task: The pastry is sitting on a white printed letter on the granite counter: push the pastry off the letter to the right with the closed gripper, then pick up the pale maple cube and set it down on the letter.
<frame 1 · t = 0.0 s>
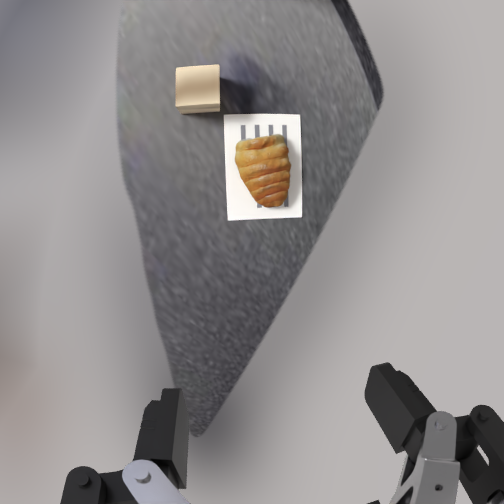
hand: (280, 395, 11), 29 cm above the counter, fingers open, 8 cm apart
letter: (264, 165, 36), on the counter
maple cube: (200, 95, 33), on the counter
pastry: (264, 165, 37), resting on letter
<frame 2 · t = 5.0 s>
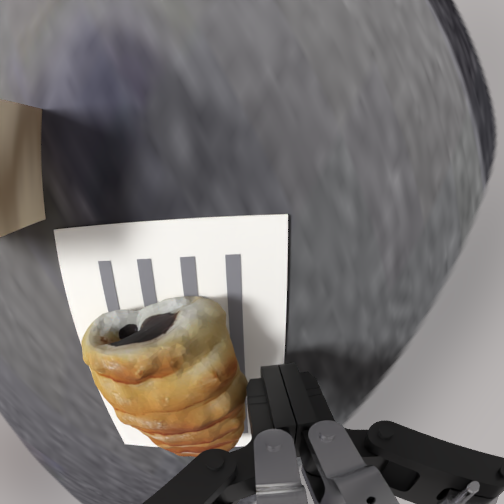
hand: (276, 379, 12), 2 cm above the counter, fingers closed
letter: (180, 366, 13), on the counter
maple cube: (6, 172, 9), on the counter
pastry: (179, 365, 13), resting on letter, touching gripper
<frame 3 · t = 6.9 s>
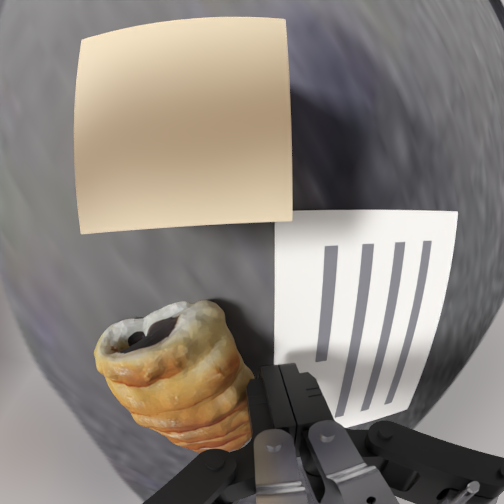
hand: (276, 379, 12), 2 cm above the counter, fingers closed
letter: (366, 344, 14), on the counter
maple cube: (194, 137, 10), on the counter
pastry: (188, 366, 14), on the counter, touching gripper
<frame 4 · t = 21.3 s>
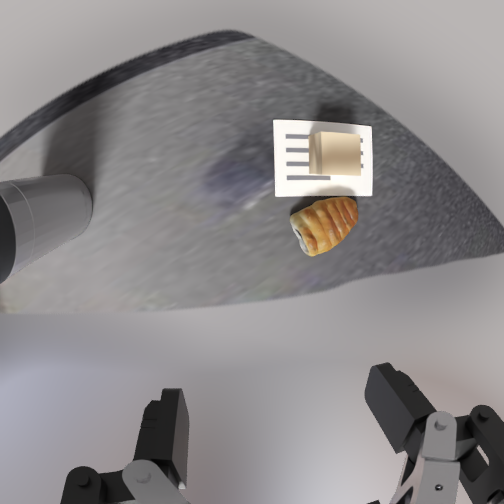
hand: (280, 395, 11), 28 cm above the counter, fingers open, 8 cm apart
letter: (326, 158, 36), on the counter
maple cube: (326, 155, 36), resting on letter
pastry: (319, 221, 39), on the counter
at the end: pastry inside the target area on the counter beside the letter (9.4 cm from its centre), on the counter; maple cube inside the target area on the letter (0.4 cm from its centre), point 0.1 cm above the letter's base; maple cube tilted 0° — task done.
